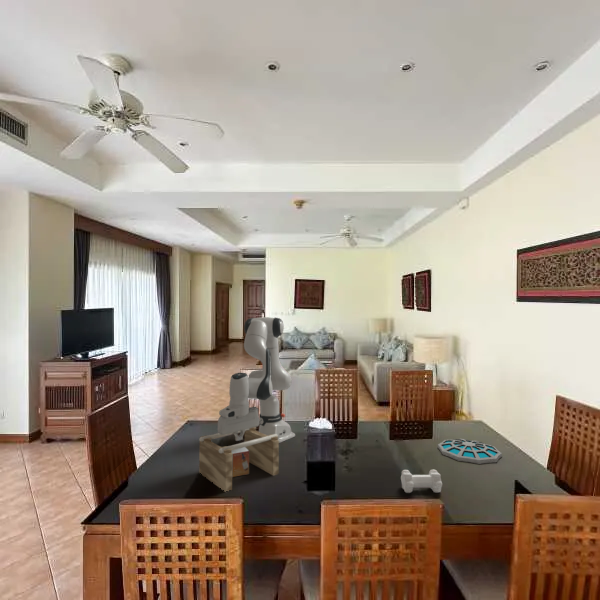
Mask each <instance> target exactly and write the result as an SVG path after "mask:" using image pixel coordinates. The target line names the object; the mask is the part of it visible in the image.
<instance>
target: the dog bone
mask: <svg viewBox="0 0 600 600" xmlns="http://www.w3.org/2000/svg"><path fill="white" fill-rule="evenodd" d="M441 477H442V475H441V473H439V472H438V470H436V469H430V470H429V472H428V474H412V473H411V472H410V470H408V469H403V470H402V471H401V476H400V480H401V488H402V490H404V492H405V493H406V494H411V493H412V492H413V489H415V488H417V489H418V488H430V489H431V490H432V491H433V493H436V494H438V493H441V491H442V487H443V482H442V478H441Z"/></svg>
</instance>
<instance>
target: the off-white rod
mask: <svg viewBox="0 0 600 600" xmlns="http://www.w3.org/2000/svg"><path fill="white" fill-rule="evenodd" d="M275 436H277V437H278V435H277V434H273V435H270V436H266V437H262V438H258V439H254V440H251V441H247V442H245V441H243V442H239V443H236V444H232V445H231V444H230V445H228V446H227V447H224V446H223V447H224V448H220V449H219V453H224V450H226V449H231V451H232V450H236V449H239V448H243V447H247V446H250V445H254V444H258V443H262V442H265V441H269V440H271V437H275Z"/></svg>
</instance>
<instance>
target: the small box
mask: <svg viewBox="0 0 600 600" xmlns="http://www.w3.org/2000/svg"><path fill="white" fill-rule="evenodd" d="M231 453H232V478H234V477H239V476H245V475H249V474H250V462H249V450H248V449H247V448H246V447H243V448H239V449H236V450H232V451H231Z"/></svg>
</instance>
